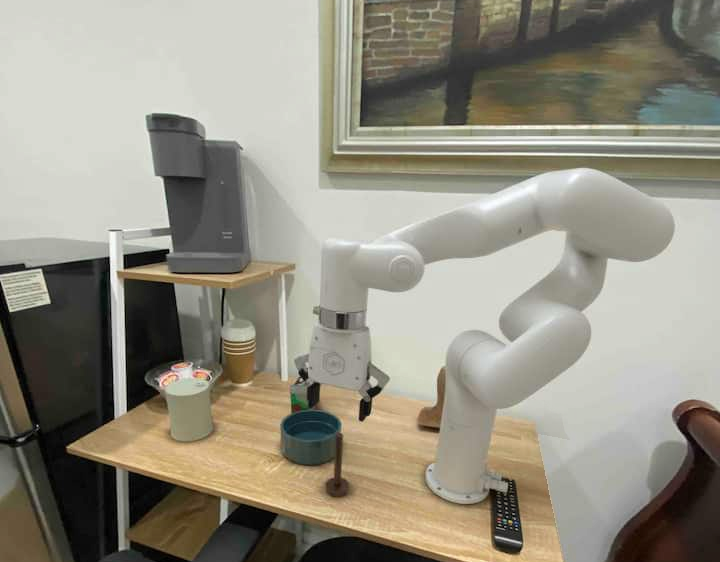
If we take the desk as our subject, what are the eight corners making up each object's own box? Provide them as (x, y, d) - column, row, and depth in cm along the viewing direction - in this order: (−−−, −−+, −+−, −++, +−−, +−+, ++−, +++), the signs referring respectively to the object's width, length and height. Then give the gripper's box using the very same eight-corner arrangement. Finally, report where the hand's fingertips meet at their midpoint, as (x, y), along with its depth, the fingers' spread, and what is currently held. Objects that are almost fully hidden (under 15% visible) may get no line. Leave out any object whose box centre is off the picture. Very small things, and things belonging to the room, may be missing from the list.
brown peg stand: (352, 485, 76) (354, 431, 72) (342, 500, 72) (345, 444, 68) (331, 479, 77) (333, 426, 73) (321, 493, 74) (322, 438, 69)
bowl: (349, 440, 91) (350, 417, 89) (324, 472, 79) (324, 447, 77) (299, 426, 95) (299, 404, 93) (269, 456, 84) (268, 431, 81)
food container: (313, 425, 96) (313, 388, 92) (289, 421, 97) (289, 385, 93) (327, 402, 107) (328, 369, 104) (305, 399, 108) (306, 366, 105)
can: (213, 438, 89) (209, 391, 84) (169, 444, 85) (162, 395, 81) (213, 418, 97) (209, 374, 92) (172, 423, 94) (166, 377, 89)
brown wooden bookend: (473, 414, 105) (482, 363, 100) (479, 438, 94) (490, 382, 89) (417, 408, 107) (423, 357, 102) (416, 430, 96) (423, 375, 91)
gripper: (284, 314, 62) (284, 409, 68) (386, 333, 57) (377, 434, 63) (306, 305, 69) (305, 392, 75) (400, 321, 63) (391, 413, 69)
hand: (338, 411), depth 69 cm, fingers open, 9 cm apart
